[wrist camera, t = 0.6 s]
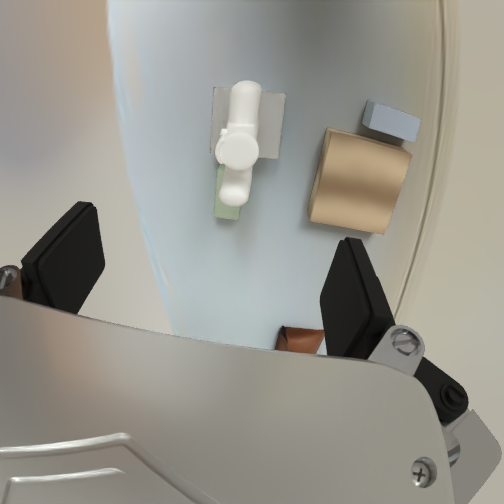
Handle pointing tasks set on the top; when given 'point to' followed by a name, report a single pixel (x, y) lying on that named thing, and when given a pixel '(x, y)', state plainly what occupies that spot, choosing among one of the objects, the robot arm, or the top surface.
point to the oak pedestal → (357, 182)
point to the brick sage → (220, 208)
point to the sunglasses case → (299, 340)
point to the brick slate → (391, 121)
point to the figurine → (244, 134)
